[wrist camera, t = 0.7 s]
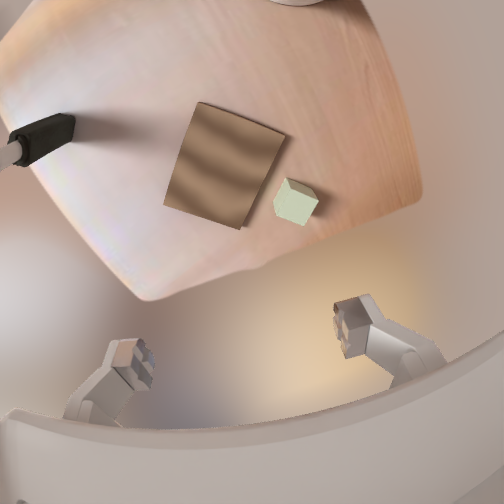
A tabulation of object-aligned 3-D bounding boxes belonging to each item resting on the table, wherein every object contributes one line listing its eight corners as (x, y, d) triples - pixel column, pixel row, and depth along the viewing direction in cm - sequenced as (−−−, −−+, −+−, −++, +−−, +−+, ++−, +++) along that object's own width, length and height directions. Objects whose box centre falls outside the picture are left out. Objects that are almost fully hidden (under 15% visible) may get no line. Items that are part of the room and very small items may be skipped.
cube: (285, 177, 44) (291, 188, 40) (311, 188, 45) (318, 200, 41) (272, 201, 46) (276, 215, 42) (297, 211, 48) (303, 226, 44)
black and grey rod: (51, 138, 35) (-47, 201, 15) (55, 112, 32) (-51, 163, 12) (71, 143, 37) (-28, 212, 16) (76, 116, 34) (-32, 170, 14)
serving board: (199, 101, 35) (197, 102, 34) (283, 134, 39) (285, 136, 38) (165, 200, 45) (163, 204, 44) (239, 225, 49) (239, 230, 47)
